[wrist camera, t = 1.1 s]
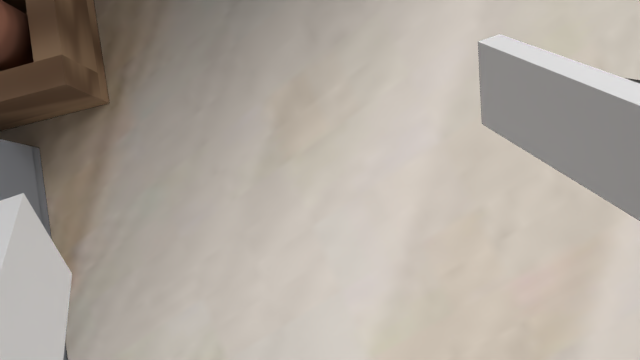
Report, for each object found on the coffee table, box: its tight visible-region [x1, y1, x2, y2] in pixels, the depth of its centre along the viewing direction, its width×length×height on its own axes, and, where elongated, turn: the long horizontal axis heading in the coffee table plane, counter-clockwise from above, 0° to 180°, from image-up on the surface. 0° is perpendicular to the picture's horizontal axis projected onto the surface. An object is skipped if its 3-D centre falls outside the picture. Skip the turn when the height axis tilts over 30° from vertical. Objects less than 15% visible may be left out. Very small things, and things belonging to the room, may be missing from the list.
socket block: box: [0, 0, 109, 131], centre depth 38 cm, size 10×10×5 cm
